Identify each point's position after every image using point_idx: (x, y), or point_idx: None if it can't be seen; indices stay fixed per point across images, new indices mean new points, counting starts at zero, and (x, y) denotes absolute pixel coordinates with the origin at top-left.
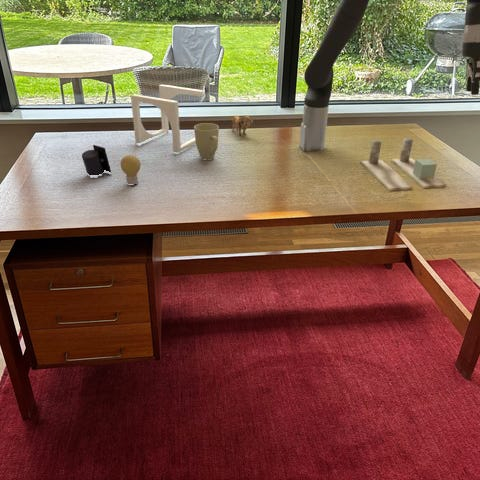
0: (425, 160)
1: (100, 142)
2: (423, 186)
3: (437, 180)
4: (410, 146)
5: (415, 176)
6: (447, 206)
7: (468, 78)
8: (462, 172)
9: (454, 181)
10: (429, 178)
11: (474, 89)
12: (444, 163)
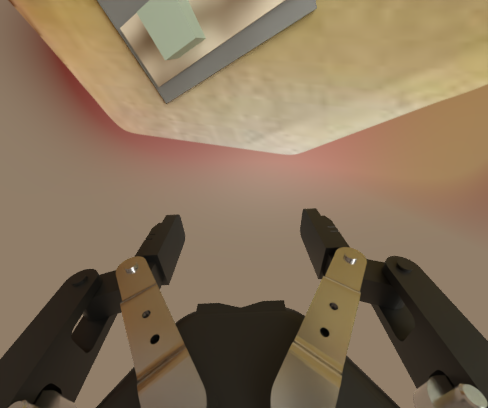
0: (176, 23)
1: None
2: (121, 27)
3: (169, 67)
4: None
5: None
6: (90, 83)
7: (332, 261)
8: (260, 129)
9: (209, 108)
10: None
11: (149, 240)
12: (305, 96)
